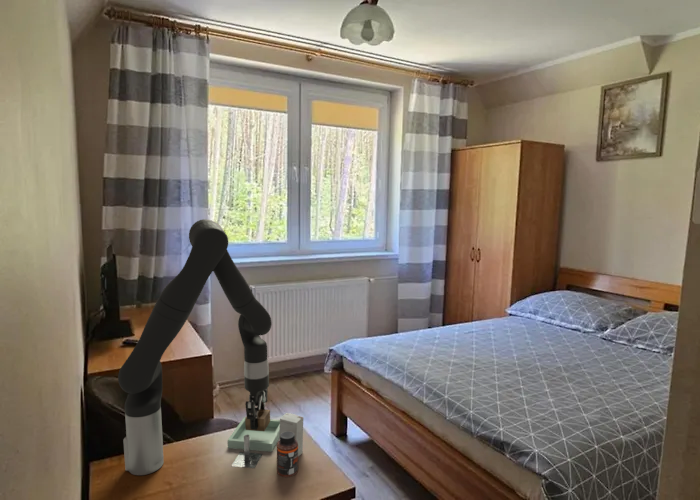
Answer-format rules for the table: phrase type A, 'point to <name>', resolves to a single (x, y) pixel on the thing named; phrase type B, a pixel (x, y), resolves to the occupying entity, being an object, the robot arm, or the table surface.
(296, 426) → the skincare box
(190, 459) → the table surface
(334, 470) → the table surface
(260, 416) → the ring
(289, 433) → the supplement bottle
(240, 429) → the tray
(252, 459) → the plate with metal peg
